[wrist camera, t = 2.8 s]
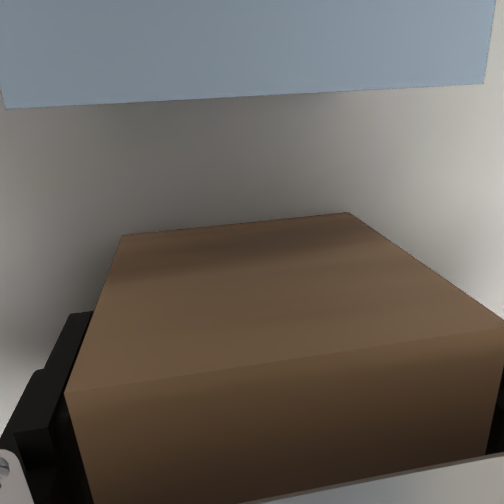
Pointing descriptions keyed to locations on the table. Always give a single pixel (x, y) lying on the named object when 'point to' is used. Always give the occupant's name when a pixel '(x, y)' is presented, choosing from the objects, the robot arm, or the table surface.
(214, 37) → the blue carton
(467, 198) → the table surface
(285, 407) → the walnut block
